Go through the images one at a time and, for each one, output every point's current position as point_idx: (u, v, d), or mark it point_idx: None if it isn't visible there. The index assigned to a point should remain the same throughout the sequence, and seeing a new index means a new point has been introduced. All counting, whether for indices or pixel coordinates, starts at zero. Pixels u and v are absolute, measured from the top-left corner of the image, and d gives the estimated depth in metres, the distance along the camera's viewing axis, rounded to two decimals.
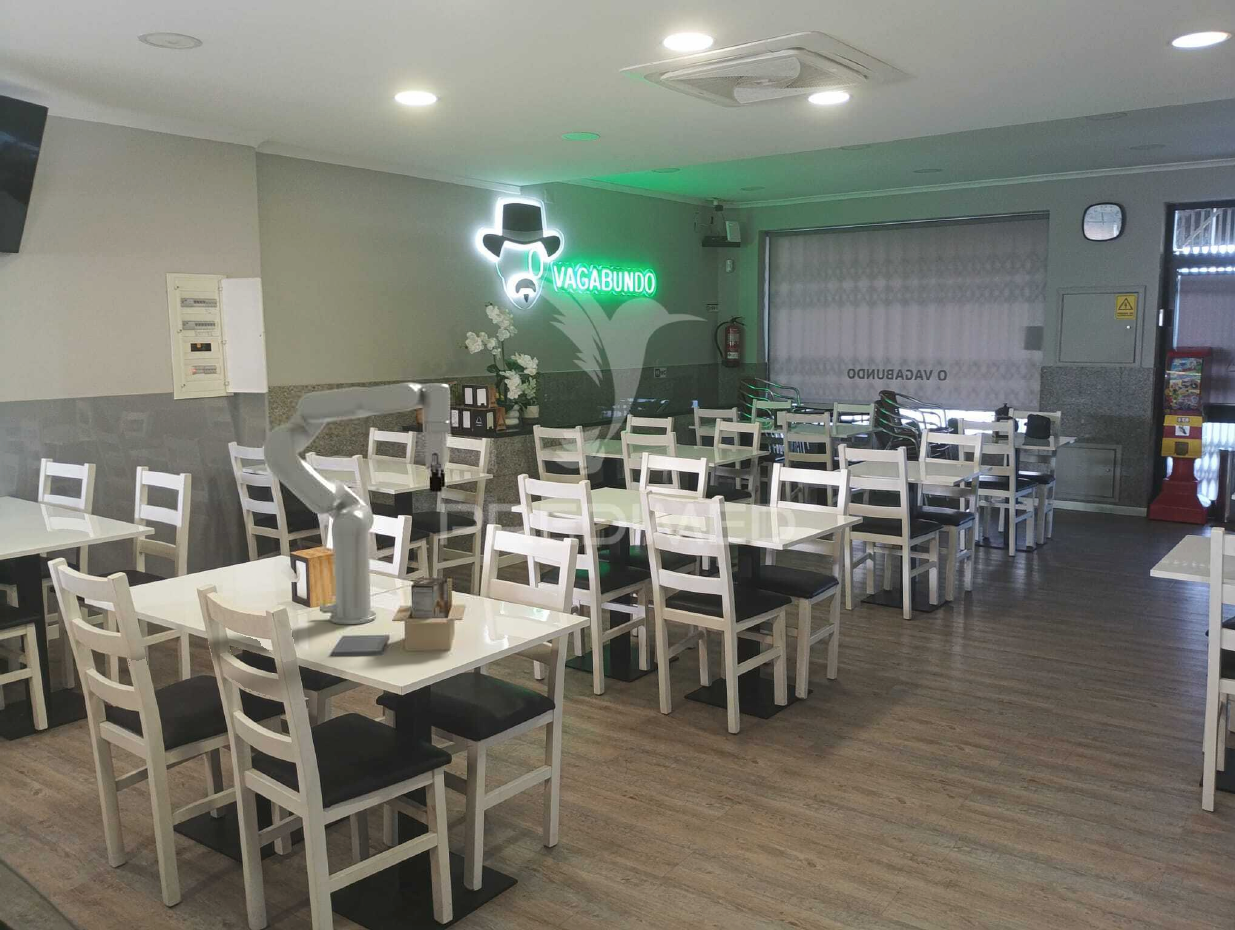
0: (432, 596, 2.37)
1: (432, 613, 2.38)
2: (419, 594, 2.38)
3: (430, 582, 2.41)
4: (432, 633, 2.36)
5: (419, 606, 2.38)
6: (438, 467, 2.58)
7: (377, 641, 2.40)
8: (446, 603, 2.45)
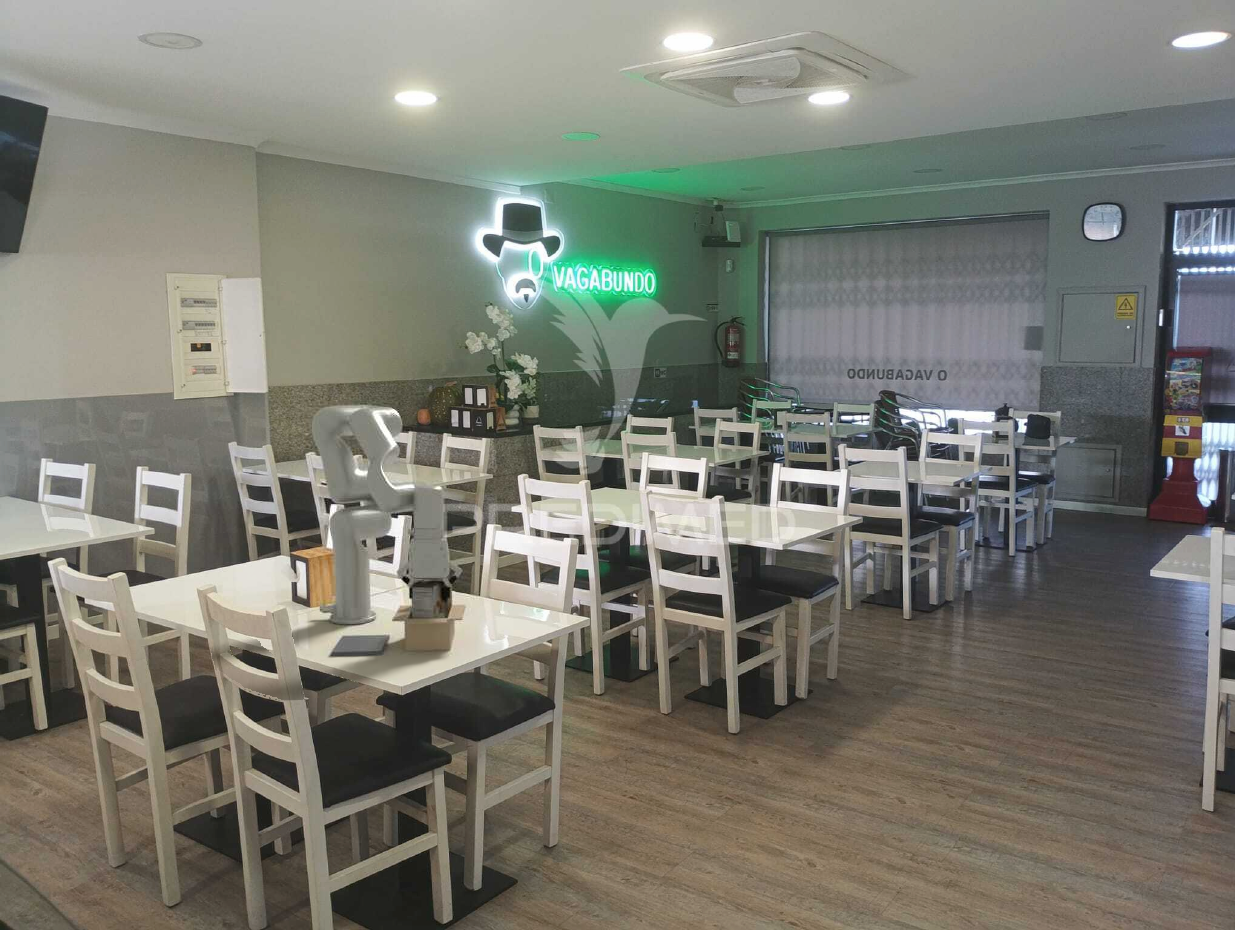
0: (432, 596, 2.37)
1: (432, 613, 2.38)
2: (419, 594, 2.38)
3: (430, 582, 2.41)
4: (432, 633, 2.36)
5: (419, 606, 2.38)
6: None
7: (377, 641, 2.40)
8: (446, 603, 2.45)
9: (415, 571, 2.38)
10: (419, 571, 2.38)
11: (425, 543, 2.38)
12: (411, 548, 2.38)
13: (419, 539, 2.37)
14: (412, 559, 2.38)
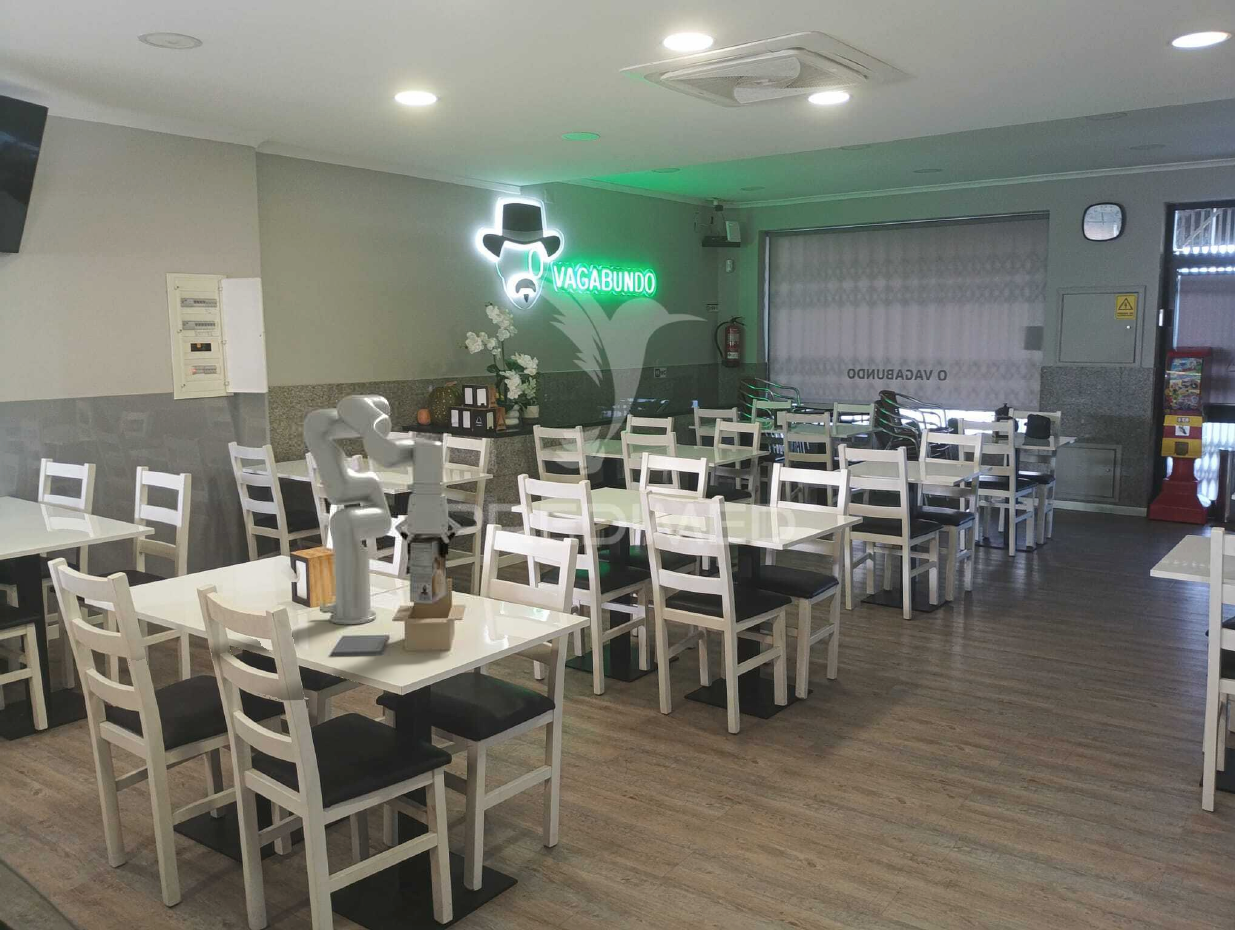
0: (430, 552, 2.36)
1: (430, 569, 2.37)
2: (417, 549, 2.37)
3: (428, 538, 2.40)
4: (432, 633, 2.36)
5: (417, 561, 2.37)
6: None
7: (377, 641, 2.40)
8: (444, 560, 2.44)
9: (413, 526, 2.37)
10: (417, 526, 2.37)
11: (424, 498, 2.37)
12: (410, 503, 2.37)
13: (418, 494, 2.36)
14: (411, 514, 2.37)
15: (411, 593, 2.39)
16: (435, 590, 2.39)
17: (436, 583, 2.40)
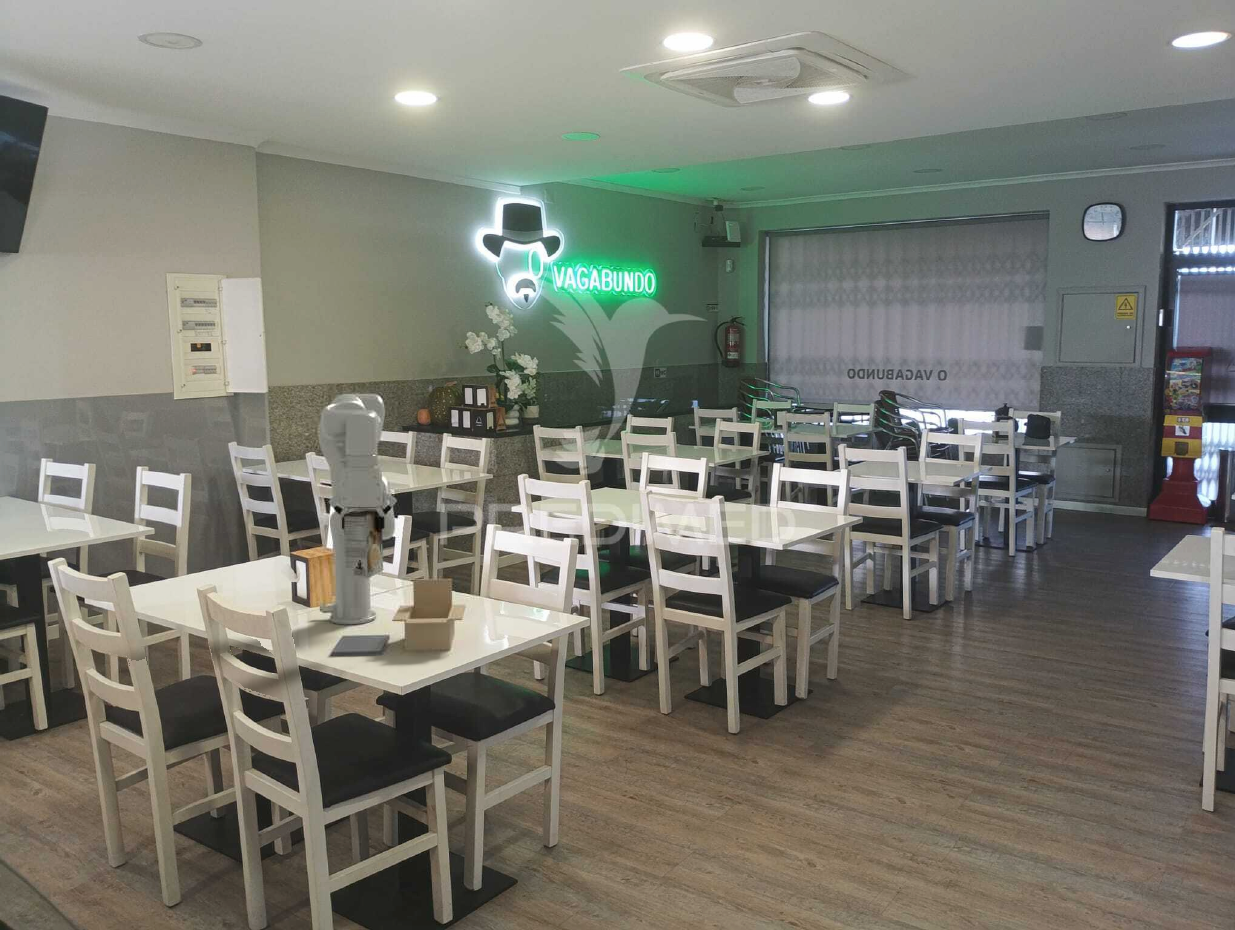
0: (365, 525, 2.31)
1: (365, 543, 2.32)
2: (351, 523, 2.32)
3: (363, 512, 2.35)
4: (432, 633, 2.36)
5: (352, 535, 2.32)
6: (380, 504, 2.37)
7: (377, 641, 2.40)
8: (381, 534, 2.39)
9: (347, 500, 2.32)
10: (351, 500, 2.32)
11: (357, 471, 2.32)
12: (343, 476, 2.32)
13: (351, 467, 2.31)
14: (344, 488, 2.32)
15: (346, 568, 2.33)
16: (371, 565, 2.34)
17: (372, 557, 2.34)
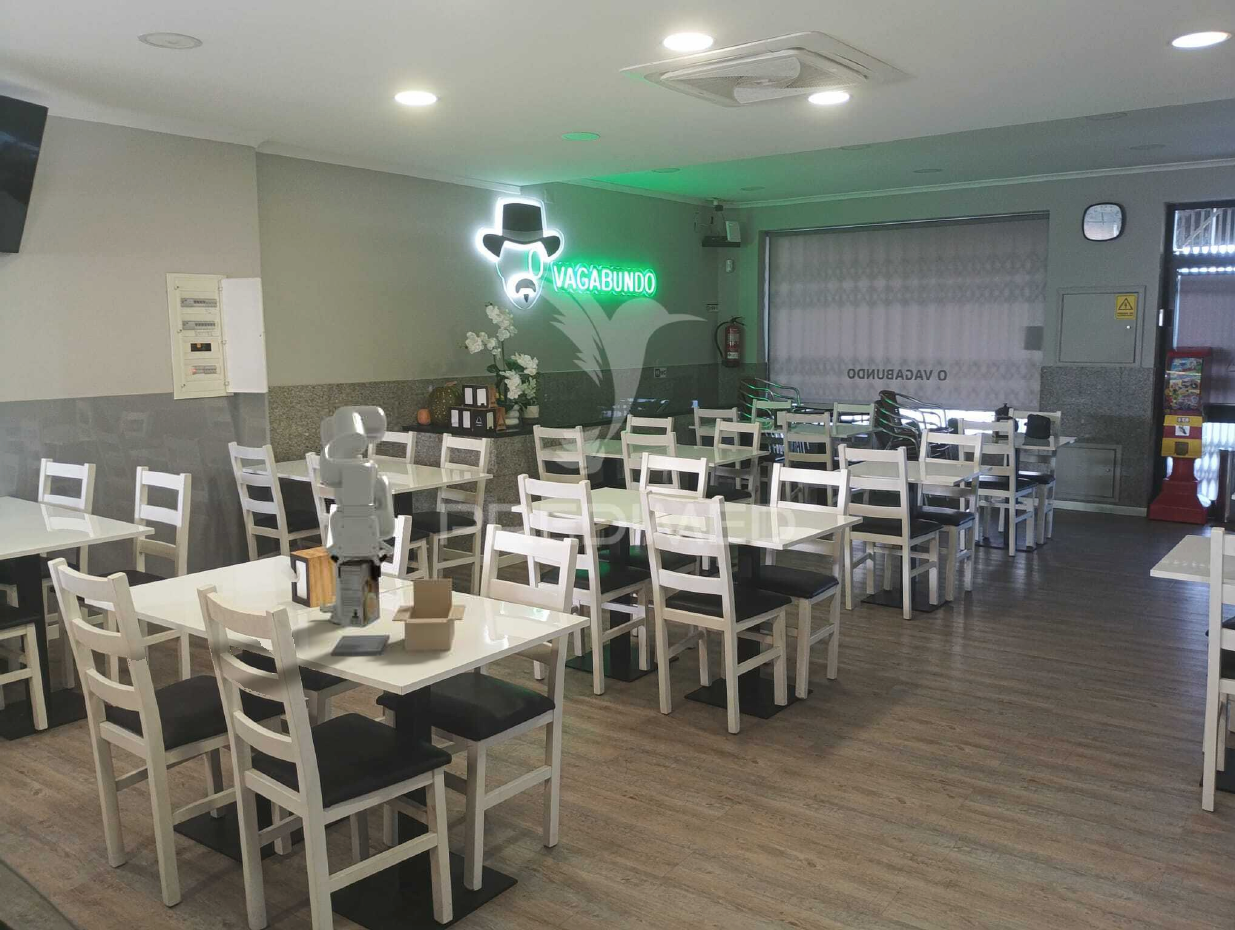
0: (360, 575, 2.32)
1: (360, 592, 2.32)
2: (347, 573, 2.32)
3: (359, 561, 2.35)
4: (432, 633, 2.36)
5: (348, 585, 2.33)
6: None
7: (377, 641, 2.40)
8: (377, 583, 2.40)
9: (343, 549, 2.33)
10: (347, 549, 2.33)
11: (353, 521, 2.33)
12: (339, 526, 2.33)
13: (347, 516, 2.32)
14: (340, 537, 2.33)
15: (342, 617, 2.34)
16: (367, 614, 2.35)
17: (368, 606, 2.35)
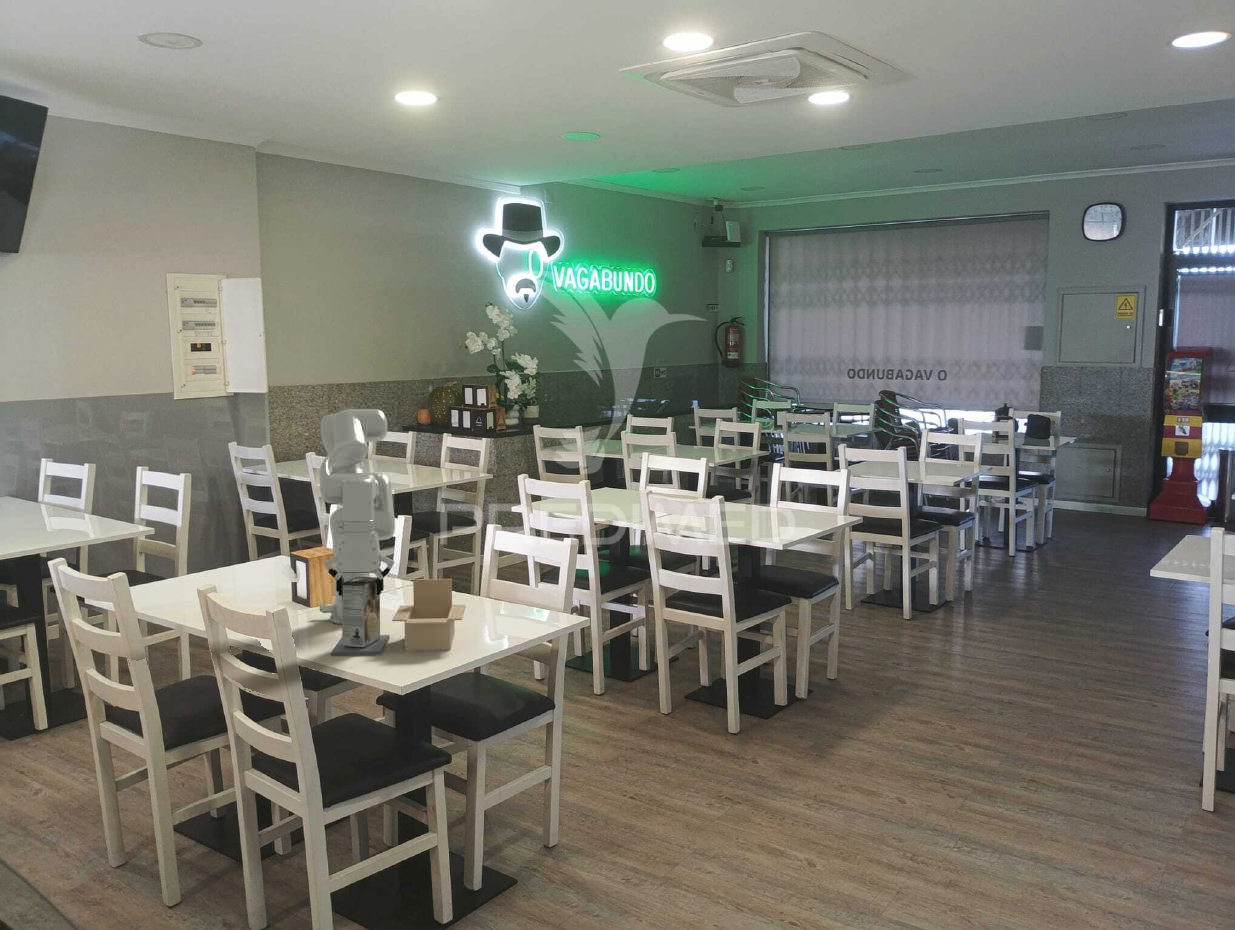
0: (363, 594, 2.33)
1: (362, 612, 2.34)
2: (349, 592, 2.34)
3: (361, 580, 2.37)
4: (432, 633, 2.36)
5: (350, 604, 2.34)
6: (378, 567, 2.38)
7: (377, 641, 2.40)
8: (378, 602, 2.41)
9: (344, 565, 2.34)
10: (348, 565, 2.34)
11: (354, 536, 2.33)
12: (340, 541, 2.33)
13: (348, 532, 2.33)
14: (341, 553, 2.33)
15: (343, 637, 2.35)
16: (368, 633, 2.36)
17: (369, 626, 2.36)
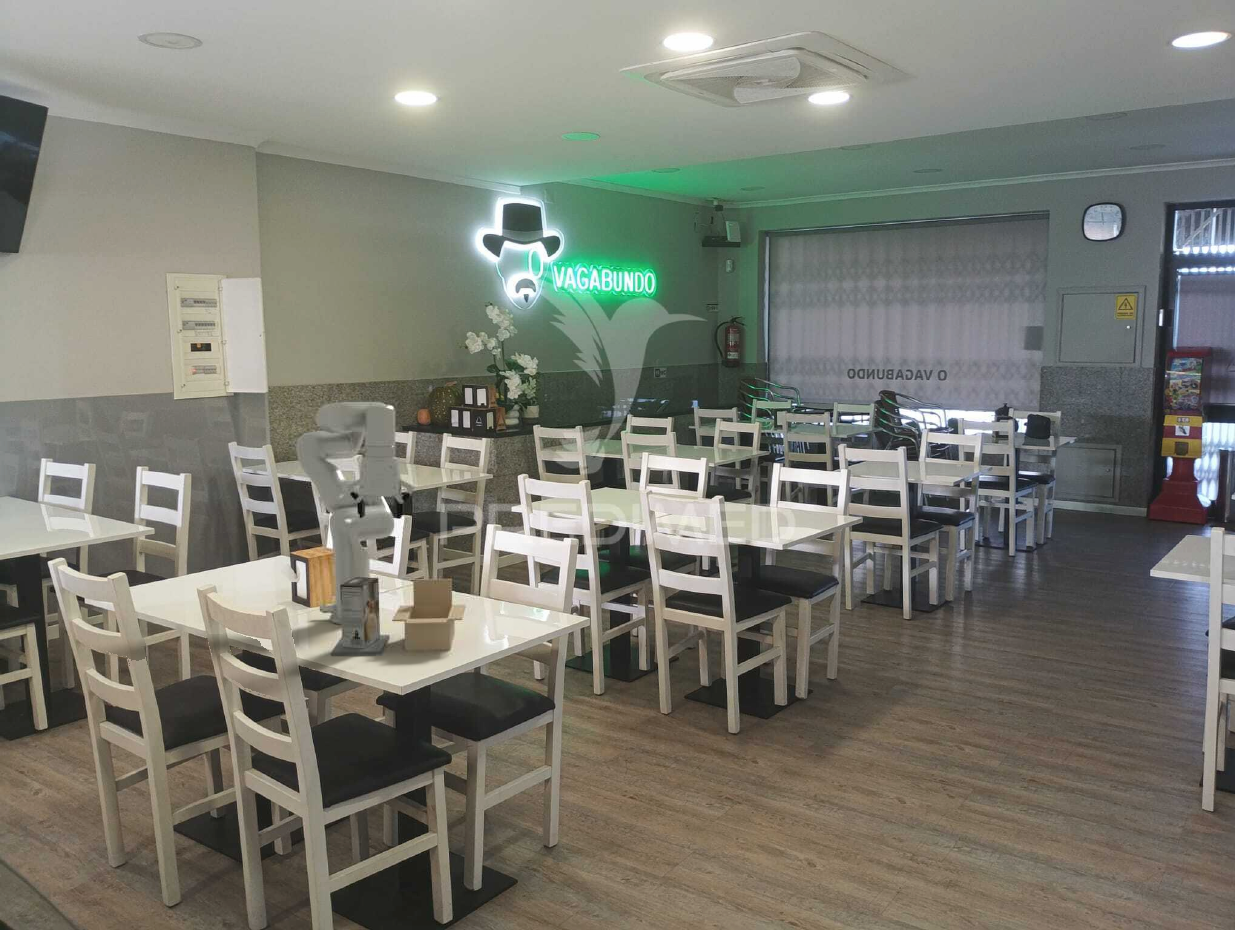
0: (361, 596, 2.33)
1: (362, 613, 2.33)
2: (348, 594, 2.33)
3: (360, 581, 2.36)
4: (432, 633, 2.36)
5: (349, 606, 2.34)
6: (399, 492, 2.46)
7: (377, 641, 2.40)
8: (377, 603, 2.41)
9: (365, 488, 2.42)
10: (369, 488, 2.42)
11: (375, 461, 2.41)
12: (362, 466, 2.42)
13: (369, 457, 2.41)
14: (362, 476, 2.42)
15: (343, 638, 2.35)
16: (368, 634, 2.36)
17: (369, 627, 2.36)
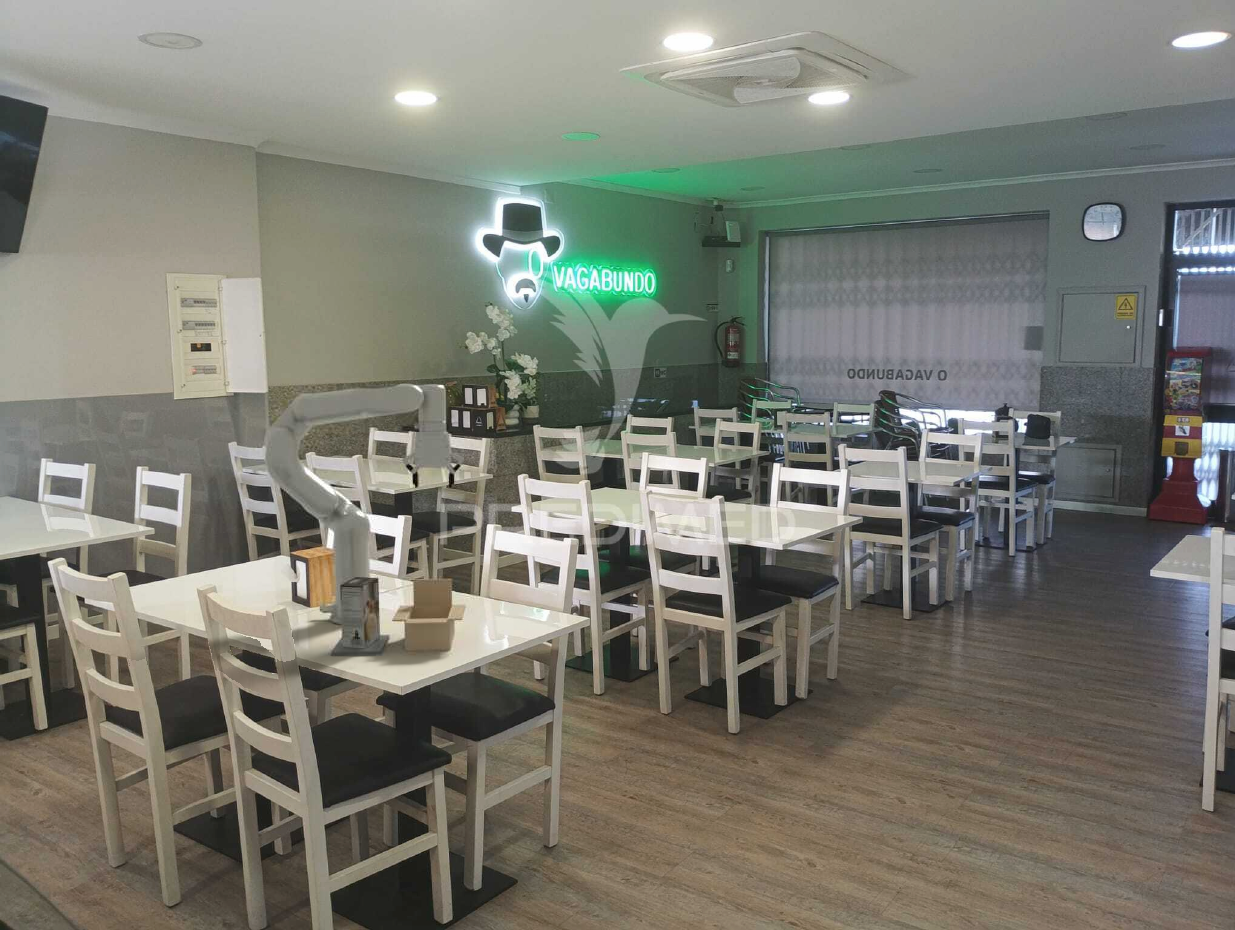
0: (361, 596, 2.33)
1: (362, 613, 2.33)
2: (348, 594, 2.33)
3: (360, 581, 2.36)
4: (432, 633, 2.36)
5: (349, 606, 2.34)
6: (450, 464, 2.72)
7: (377, 641, 2.40)
8: (377, 603, 2.41)
9: (420, 460, 2.67)
10: (424, 460, 2.67)
11: (429, 435, 2.67)
12: (417, 440, 2.67)
13: (424, 431, 2.66)
14: (418, 449, 2.67)
15: (343, 638, 2.35)
16: (368, 634, 2.36)
17: (369, 627, 2.36)
